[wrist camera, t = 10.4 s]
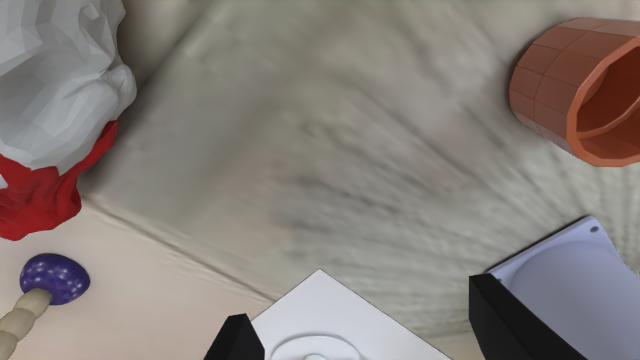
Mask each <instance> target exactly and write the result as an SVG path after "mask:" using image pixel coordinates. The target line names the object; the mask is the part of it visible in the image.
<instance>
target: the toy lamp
mask: <svg viewBox="0 0 640 360" xmlns="http://www.w3.org/2000/svg"><path fill="white" fill-rule="evenodd" d="M89 283H90V280H89V277H88V275H87V273H86V272H85V270H84V269H83V268H82V267H81V266H80V265H78V264H77V263H75V262H73V261H72V260H70V259H68V258H65V257H62V256H58V255H50V254H48V255H45V254H44V255H39V256H35V257H33V258H31V259H30V260H29V261H28V262H27V263H26V264H25V266H24V267H23V269H22V271H21V275H20V286H21V289H22V291H23V292H24V295H22V296H21V297H20V298H19V299H18V301H17V302H16V303H15V305H14V308H13V310H12V311H11V312H9V313H7V314H6V315H5V316H3V317H2V318H1V319H0V360H8V359H9V358H10V357H11V355H12V354H13V352H14V350H15V348H16V345H17V342H19V341H20V340H22V339H23V338H24V337H25V336H26V335H27V334H28V333H29V332H30V330H31V329H32V327H33V325H34V322H35V320H36V319H37V318H39V317H40V316H41V315H42V314H43V313H44V312H45V311H46V309H47V308H48V306H49V305H63V304H66V303H69V302H71V301H73V300H75V299H77V298H78V297H79V296H81V295H82V294H83V293H84V292H85V291H86V290H87V289H88V287H89Z"/></svg>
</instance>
